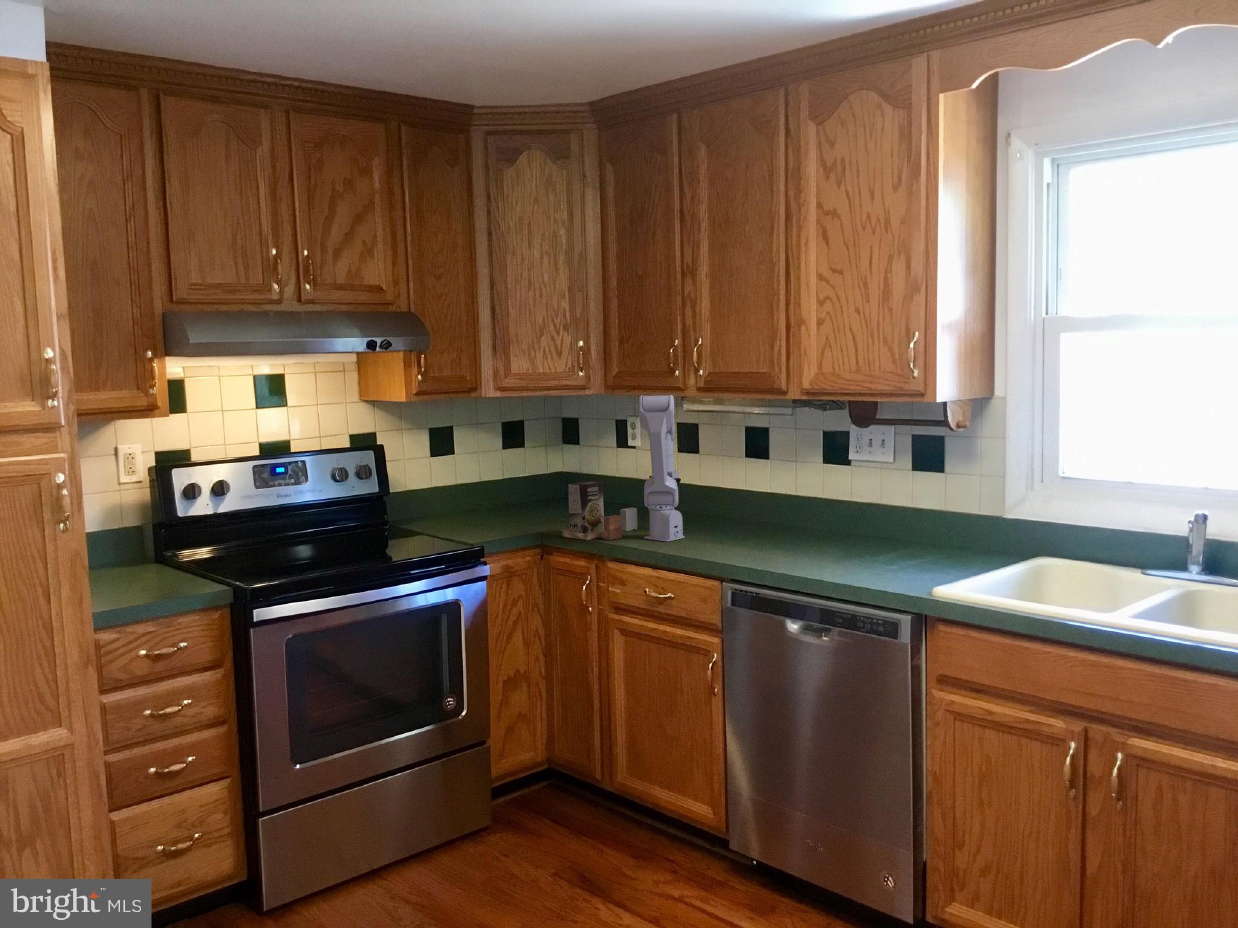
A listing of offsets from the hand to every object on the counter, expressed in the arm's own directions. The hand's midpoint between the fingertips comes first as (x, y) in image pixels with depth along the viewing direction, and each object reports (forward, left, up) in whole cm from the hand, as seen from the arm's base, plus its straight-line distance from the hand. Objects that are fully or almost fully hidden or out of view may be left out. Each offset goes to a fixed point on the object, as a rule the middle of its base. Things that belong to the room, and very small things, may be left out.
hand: (665, 499), depth 336 cm
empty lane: (+16, +6, -9) cm, 20 cm away
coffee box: (+13, +21, -10) cm, 27 cm away
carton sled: (+9, +21, -9) cm, 25 cm away
